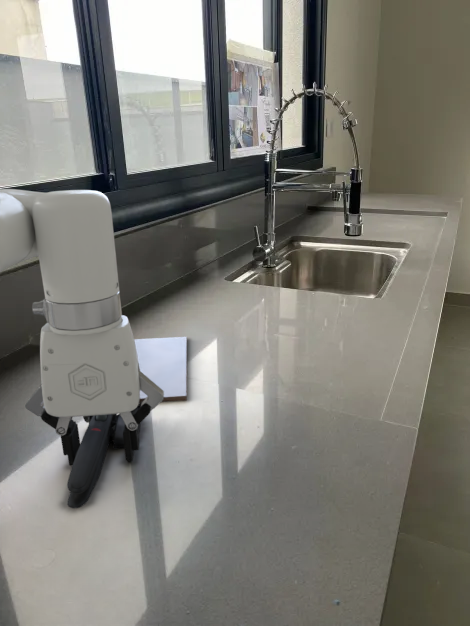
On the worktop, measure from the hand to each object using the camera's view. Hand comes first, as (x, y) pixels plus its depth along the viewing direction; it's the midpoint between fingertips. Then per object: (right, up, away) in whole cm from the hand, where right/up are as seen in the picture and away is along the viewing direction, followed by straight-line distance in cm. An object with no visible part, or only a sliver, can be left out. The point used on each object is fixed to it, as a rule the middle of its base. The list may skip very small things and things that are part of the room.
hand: (103, 455), depth 58 cm
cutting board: (-1, +7, +24) cm, 25 cm away
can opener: (0, -1, 0) cm, 1 cm away
